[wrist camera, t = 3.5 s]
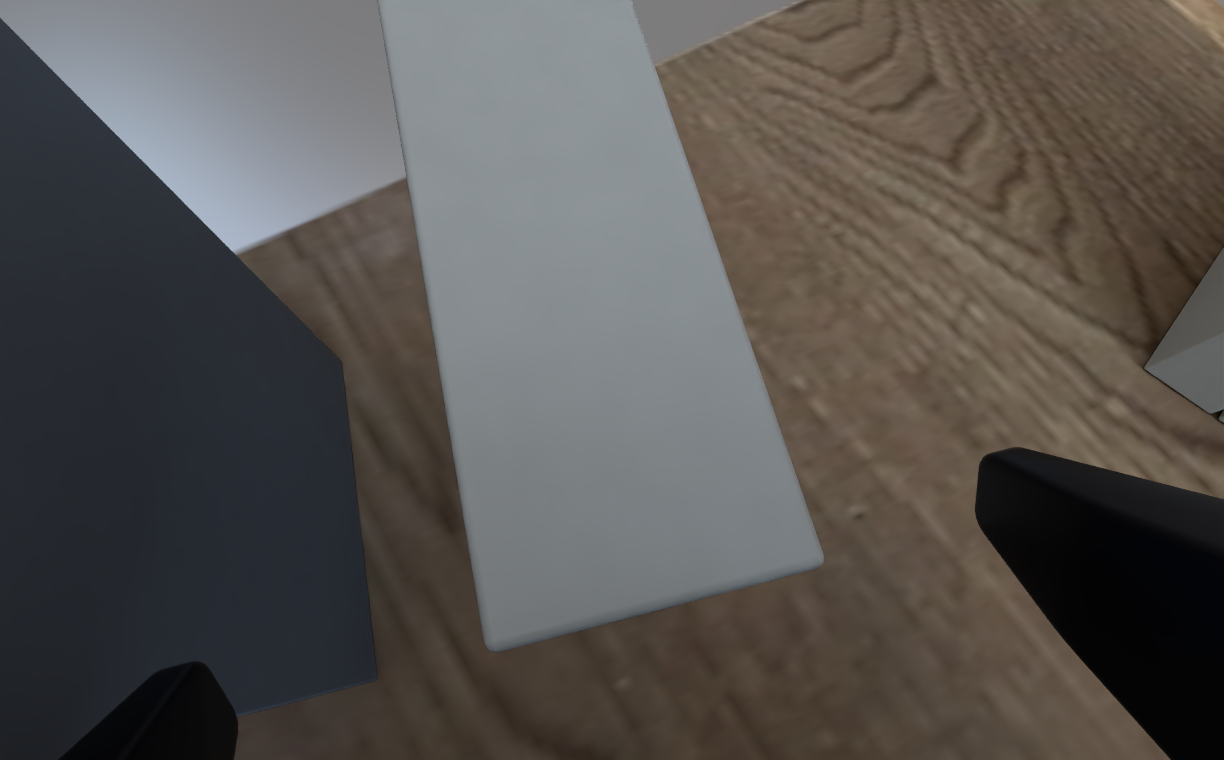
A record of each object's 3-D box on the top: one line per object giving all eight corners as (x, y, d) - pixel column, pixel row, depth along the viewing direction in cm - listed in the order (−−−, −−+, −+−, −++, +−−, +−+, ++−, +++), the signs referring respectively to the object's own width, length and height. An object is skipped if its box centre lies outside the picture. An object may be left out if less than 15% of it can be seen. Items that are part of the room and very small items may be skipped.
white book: (669, 605, 17) (830, 565, 5) (566, 631, 17) (485, 655, 5) (591, 308, 20) (579, -156, 8) (503, 327, 20) (354, -125, 8)
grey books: (378, 679, 17) (-601, 938, 3) (124, 746, 16) (-2503, 1438, 2) (342, 361, 20) (-236, -224, 6) (126, 407, 19) (-1053, -128, 5)
